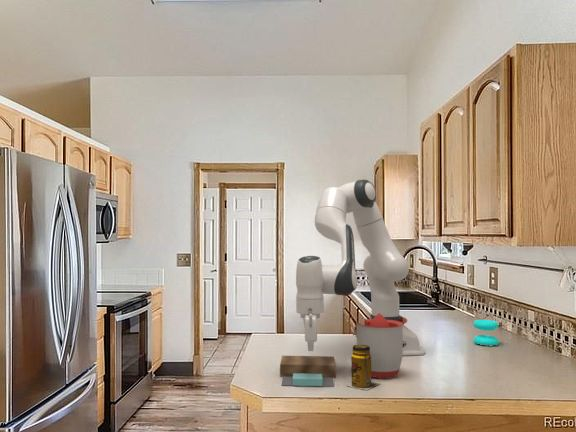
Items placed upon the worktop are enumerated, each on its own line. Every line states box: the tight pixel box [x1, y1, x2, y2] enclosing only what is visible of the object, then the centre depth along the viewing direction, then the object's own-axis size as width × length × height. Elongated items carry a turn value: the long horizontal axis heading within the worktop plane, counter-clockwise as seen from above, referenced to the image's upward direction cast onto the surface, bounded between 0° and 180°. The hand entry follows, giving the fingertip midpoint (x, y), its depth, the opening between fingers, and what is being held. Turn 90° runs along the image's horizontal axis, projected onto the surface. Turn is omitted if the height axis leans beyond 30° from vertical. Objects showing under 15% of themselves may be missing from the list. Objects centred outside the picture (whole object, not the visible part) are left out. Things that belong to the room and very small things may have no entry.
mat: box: [281, 377, 335, 388], centre depth 153 cm, size 16×9×1 cm, turn 88°
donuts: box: [472, 319, 499, 346], centre depth 210 cm, size 10×10×10 cm
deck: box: [279, 355, 337, 379], centre depth 164 cm, size 18×12×4 cm, turn 88°
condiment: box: [345, 344, 381, 391], centre depth 150 cm, size 7×8×12 cm
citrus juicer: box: [352, 313, 403, 380], centre depth 163 cm, size 16×17×20 cm
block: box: [293, 373, 322, 387], centre depth 151 cm, size 9×6×2 cm, turn 87°
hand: (310, 350), depth 157 cm, fingers closed
